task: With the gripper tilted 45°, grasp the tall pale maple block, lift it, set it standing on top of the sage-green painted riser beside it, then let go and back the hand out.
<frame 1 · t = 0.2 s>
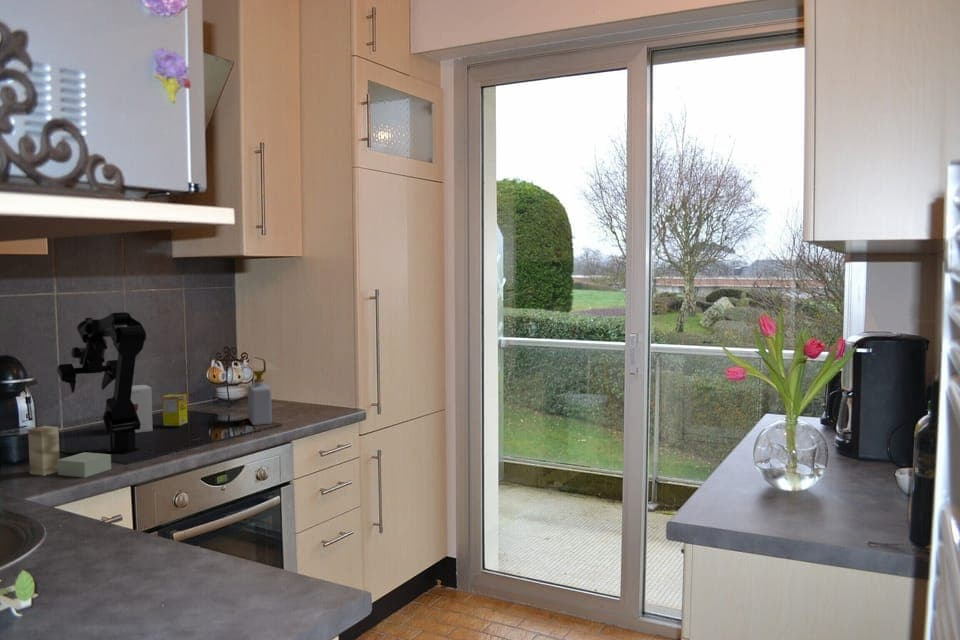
hand: (87, 390, 249), 15 cm above the worktop, tool tilted 35°, fingers open, 9 cm apart
supplement box: (175, 426, 264), on the worktop
soap bottle: (260, 422, 271), on the worktop
maple block: (45, 472, 203), on the worktop
riser block: (85, 471, 204), on the worktop
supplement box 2: (136, 431, 257), on the worktop
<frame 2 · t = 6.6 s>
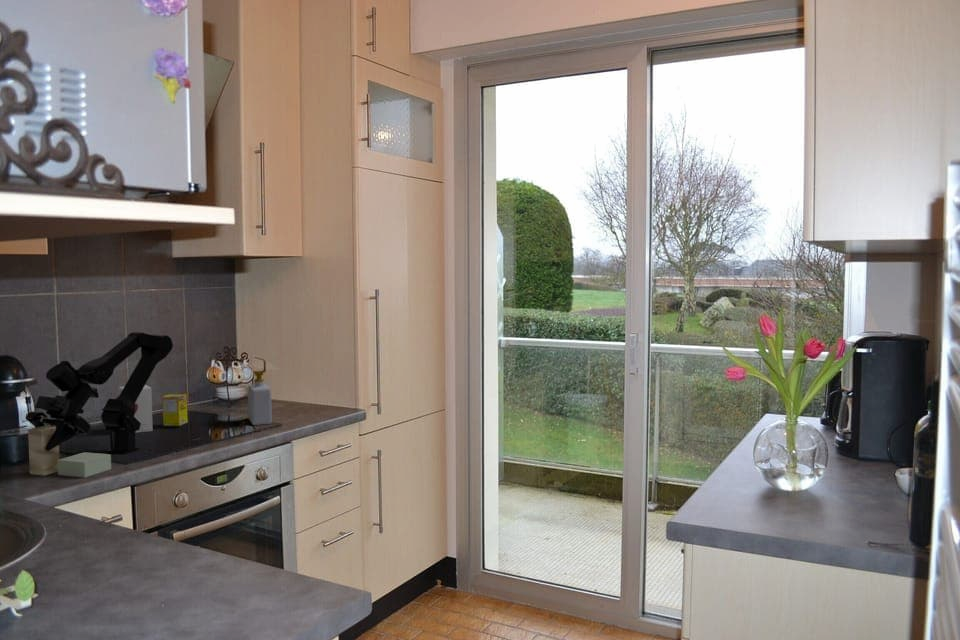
hand: (39, 449, 202), 7 cm above the worktop, tool tilted 45°, fingers closed on maple block, 5 cm apart
maple block: (45, 472, 203), on the worktop, touching gripper
everything else where it was.
when the fingers open (12 cm above the worktop, at t = 12.6 s): maple block drops 1 cm, resting on riser block.
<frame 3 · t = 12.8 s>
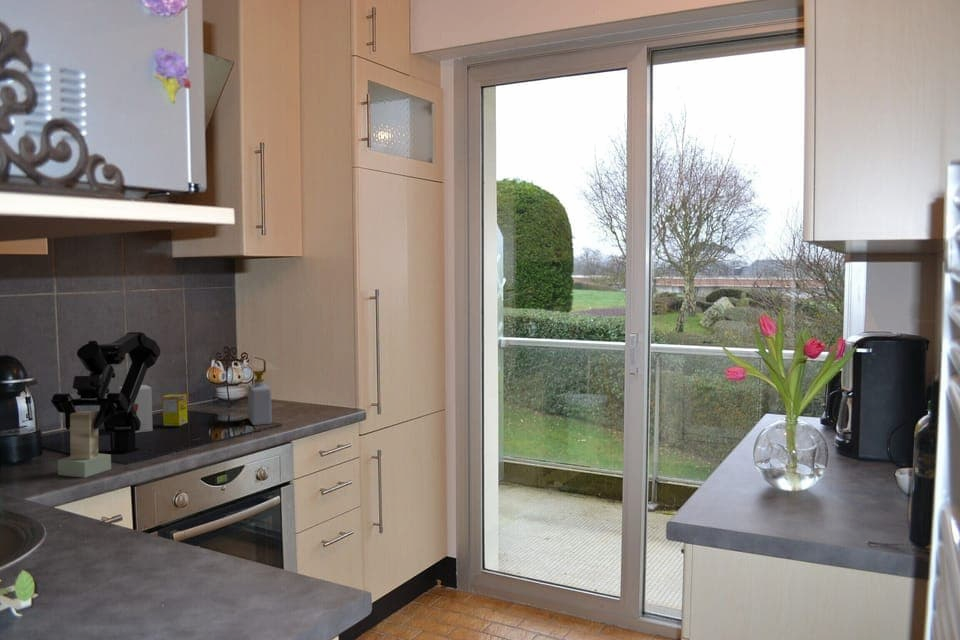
hand: (80, 428, 202), 12 cm above the worktop, tool tilted 45°, fingers open, 7 cm apart
maple block: (84, 456, 203), point 4 cm above the worktop, touching riser block
everything else where it was.
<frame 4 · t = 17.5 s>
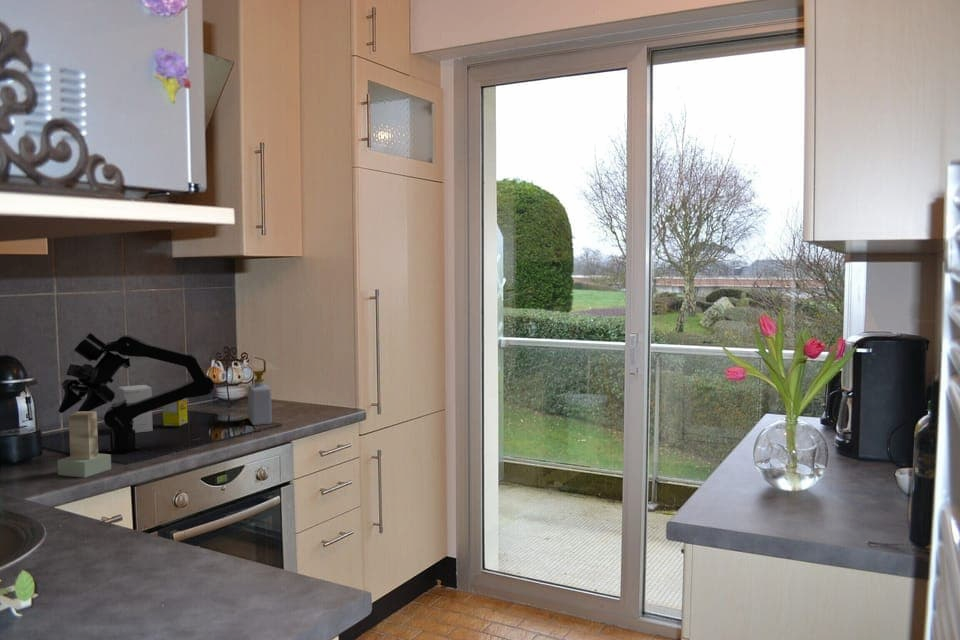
hand: (68, 413, 215), 14 cm above the worktop, tool tilted 45°, fingers open, 9 cm apart
nothing on the worktop moved.
at the end: maple block 0.0 cm off-centre on the riser block, point 4.0 cm above the riser block's base; maple block tilted 0°; the gripper is holding nothing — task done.
